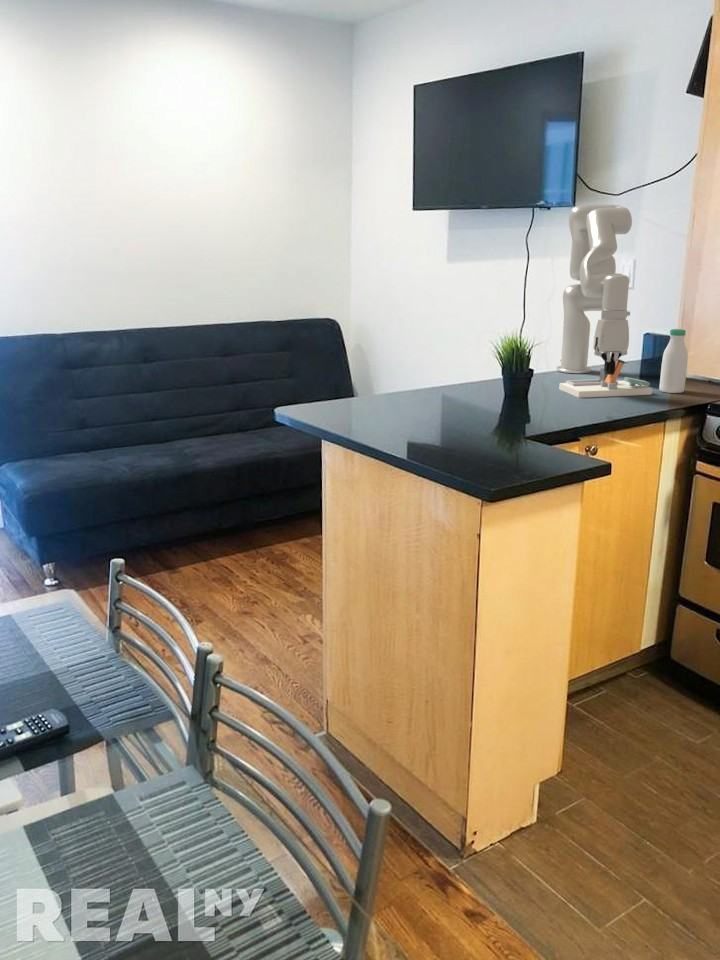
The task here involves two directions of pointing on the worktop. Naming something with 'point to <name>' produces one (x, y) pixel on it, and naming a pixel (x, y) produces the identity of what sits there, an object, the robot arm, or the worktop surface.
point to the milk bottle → (674, 363)
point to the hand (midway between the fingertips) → (609, 373)
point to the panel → (603, 388)
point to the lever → (615, 372)
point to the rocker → (636, 381)
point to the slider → (603, 375)
